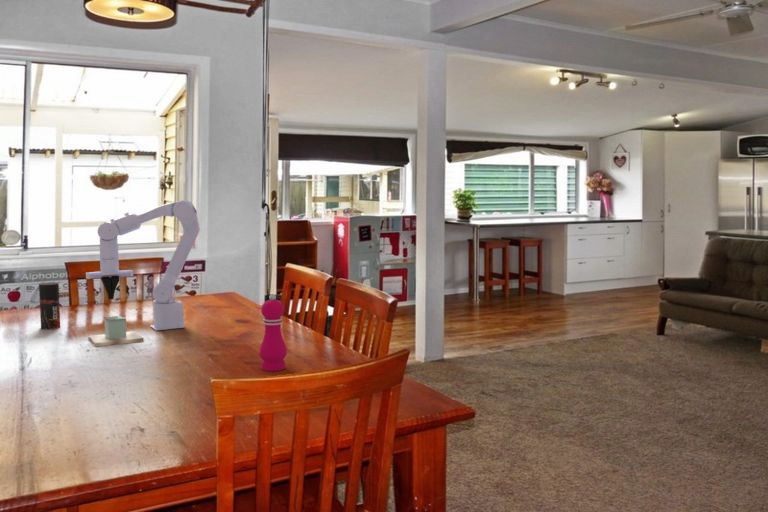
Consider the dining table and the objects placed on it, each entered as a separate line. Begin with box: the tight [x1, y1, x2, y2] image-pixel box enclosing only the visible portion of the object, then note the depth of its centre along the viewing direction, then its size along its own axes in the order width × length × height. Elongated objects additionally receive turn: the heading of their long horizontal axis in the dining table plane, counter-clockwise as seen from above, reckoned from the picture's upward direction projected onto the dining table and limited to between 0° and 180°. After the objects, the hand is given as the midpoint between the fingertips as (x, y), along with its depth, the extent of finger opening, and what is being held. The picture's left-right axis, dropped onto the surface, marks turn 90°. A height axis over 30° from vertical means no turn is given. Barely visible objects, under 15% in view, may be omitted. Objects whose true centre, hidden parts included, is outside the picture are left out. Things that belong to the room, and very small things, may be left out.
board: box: [87, 330, 144, 347], centre depth 213 cm, size 14×12×6 cm
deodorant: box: [38, 282, 61, 330], centre depth 230 cm, size 6×6×15 cm
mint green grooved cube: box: [103, 315, 127, 339], centre depth 213 cm, size 5×5×6 cm
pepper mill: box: [258, 293, 288, 372], centre depth 180 cm, size 7×7×20 cm
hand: (110, 298), depth 227 cm, fingers closed
